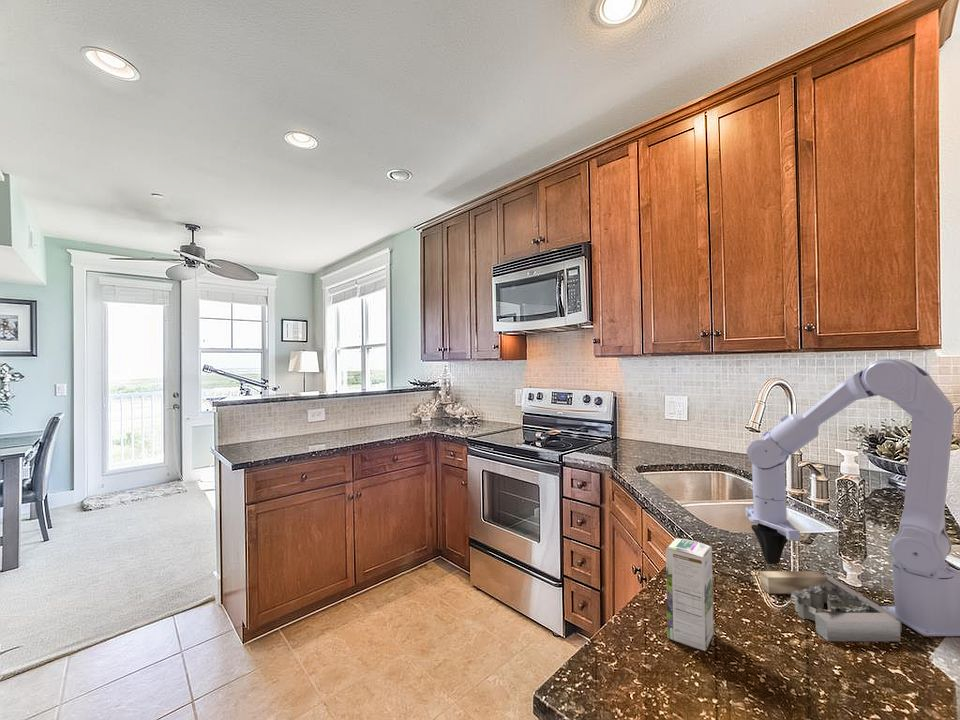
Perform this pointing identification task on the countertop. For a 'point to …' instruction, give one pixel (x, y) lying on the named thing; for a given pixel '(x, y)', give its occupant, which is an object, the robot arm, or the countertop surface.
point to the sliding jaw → (790, 580)
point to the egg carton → (826, 601)
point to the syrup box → (689, 593)
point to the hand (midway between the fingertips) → (772, 562)
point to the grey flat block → (858, 622)
